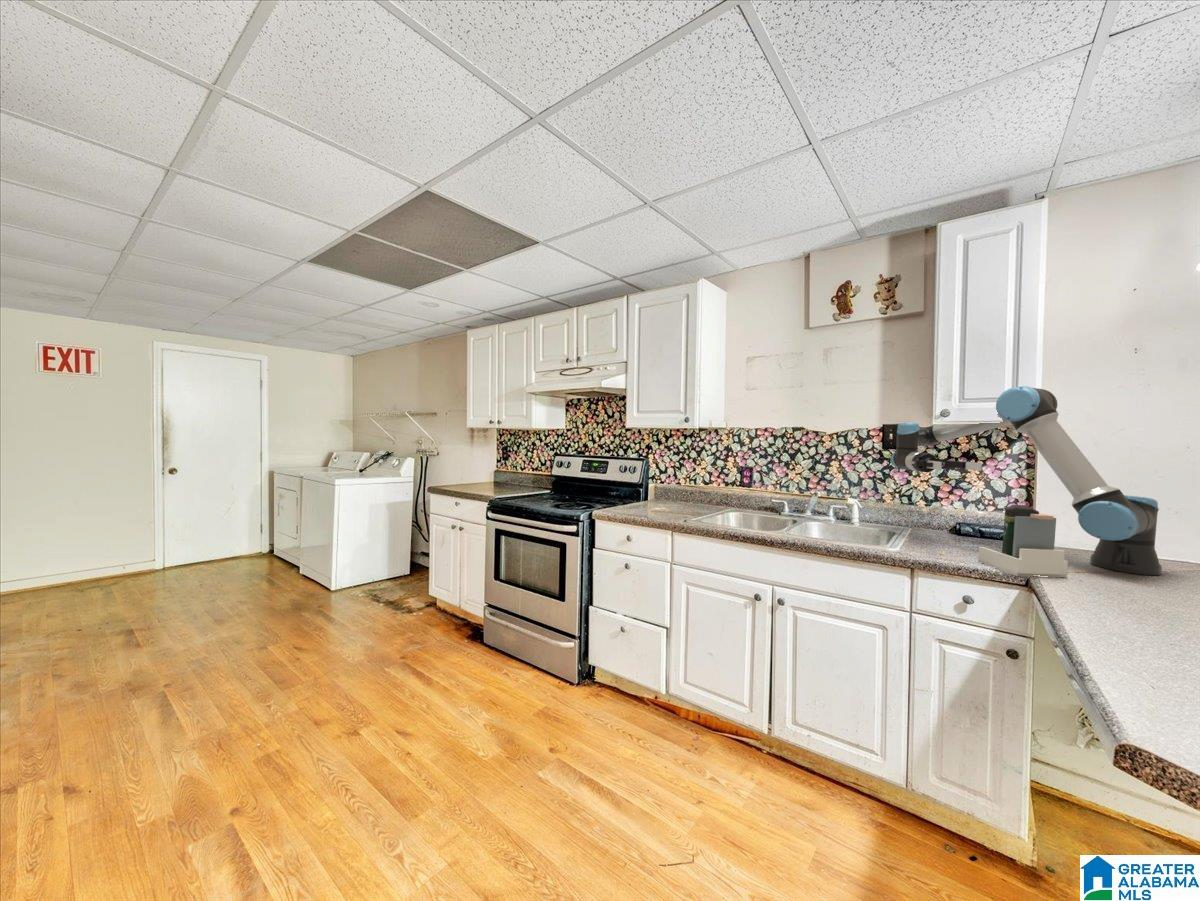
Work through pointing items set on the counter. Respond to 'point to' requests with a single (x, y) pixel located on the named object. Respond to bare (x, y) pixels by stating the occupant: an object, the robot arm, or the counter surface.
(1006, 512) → the coffee jar
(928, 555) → the counter surface
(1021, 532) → the pusher
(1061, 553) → the tray
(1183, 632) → the counter surface
